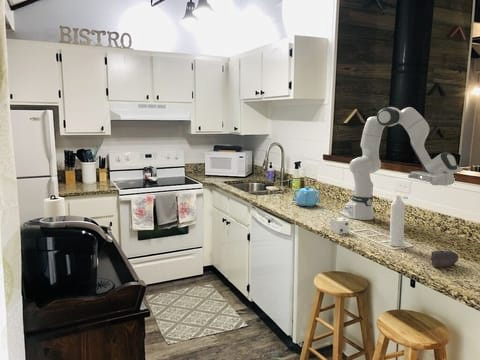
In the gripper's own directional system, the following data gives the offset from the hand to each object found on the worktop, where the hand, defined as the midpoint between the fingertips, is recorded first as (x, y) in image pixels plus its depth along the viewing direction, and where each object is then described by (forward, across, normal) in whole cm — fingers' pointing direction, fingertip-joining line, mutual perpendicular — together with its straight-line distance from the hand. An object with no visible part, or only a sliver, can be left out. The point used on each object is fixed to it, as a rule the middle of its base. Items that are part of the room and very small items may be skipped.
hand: (414, 177), depth 201 cm
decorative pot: (+25, -78, +32) cm, 88 cm away
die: (+34, -14, +32) cm, 49 cm away
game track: (+19, +1, +32) cm, 37 cm away
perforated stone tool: (+14, +40, +32) cm, 54 cm away
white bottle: (+17, +14, +32) cm, 39 cm away
